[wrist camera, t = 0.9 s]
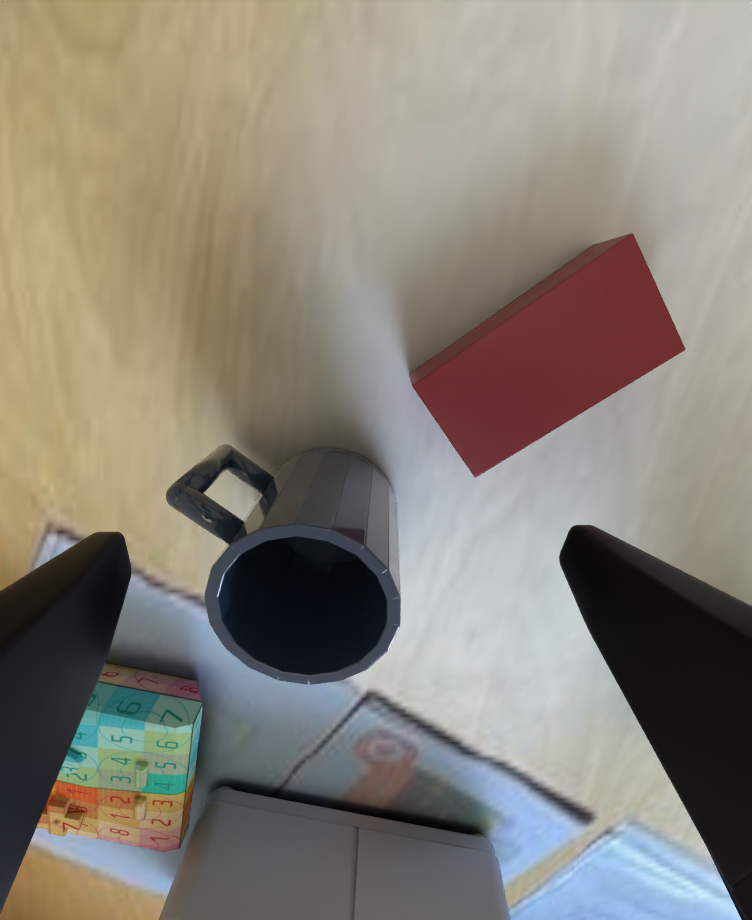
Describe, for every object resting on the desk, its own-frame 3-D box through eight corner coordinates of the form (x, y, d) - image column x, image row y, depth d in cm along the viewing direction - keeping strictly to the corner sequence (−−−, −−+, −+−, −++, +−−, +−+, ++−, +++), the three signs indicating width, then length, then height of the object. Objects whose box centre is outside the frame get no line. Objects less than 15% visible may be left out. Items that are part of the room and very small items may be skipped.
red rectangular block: (594, 244, 18) (633, 232, 15) (642, 343, 19) (686, 349, 16) (408, 374, 20) (411, 385, 17) (463, 455, 21) (475, 478, 18)
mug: (423, 501, 22) (442, 601, 15) (342, 585, 24) (321, 712, 17) (270, 382, 20) (200, 427, 13) (195, 484, 22) (97, 576, 15)
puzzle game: (172, 866, 26) (-158, 809, 25) (203, 785, 31) (-77, 734, 30) (186, 740, 22) (-207, 666, 21) (219, 668, 27) (-105, 603, 25)
